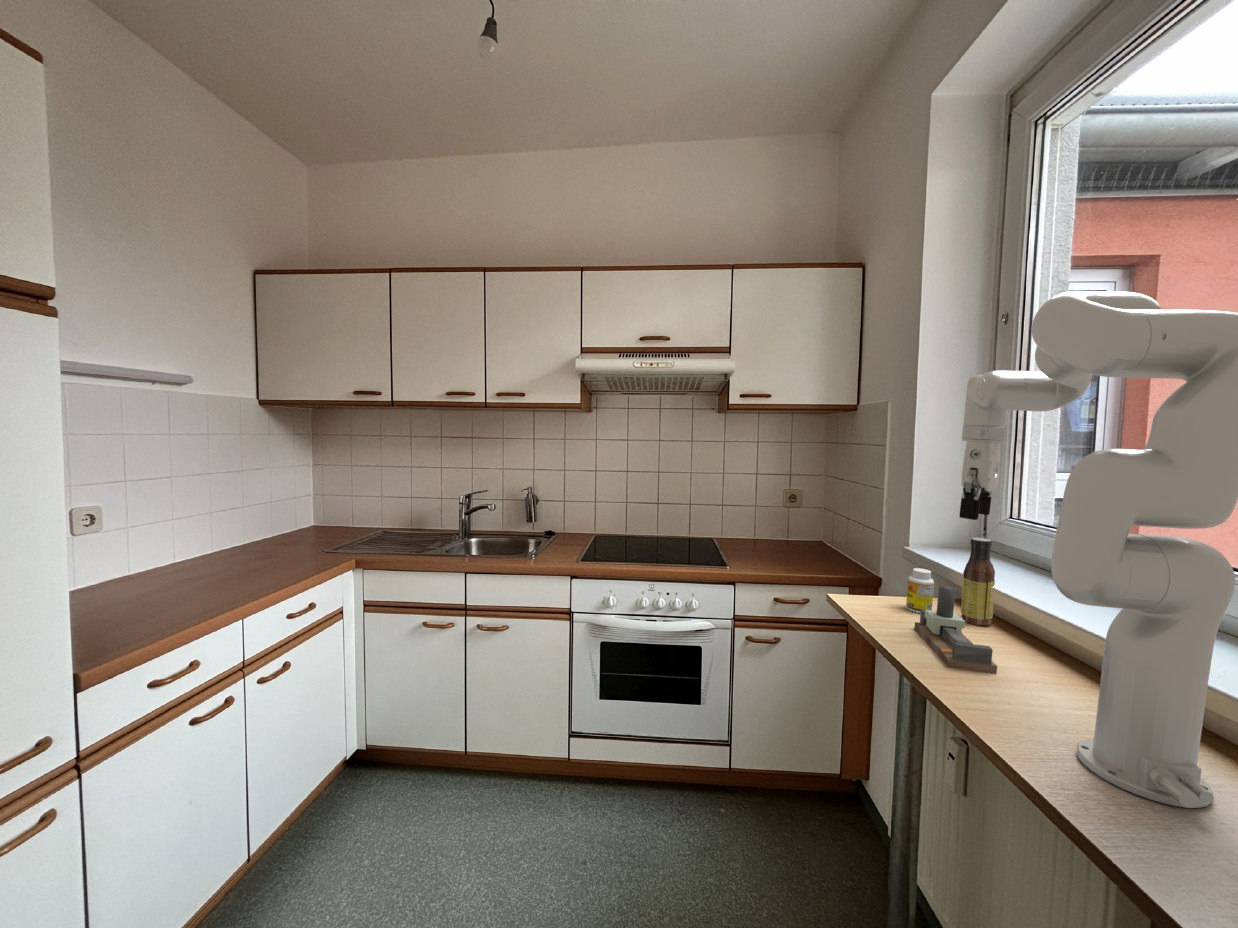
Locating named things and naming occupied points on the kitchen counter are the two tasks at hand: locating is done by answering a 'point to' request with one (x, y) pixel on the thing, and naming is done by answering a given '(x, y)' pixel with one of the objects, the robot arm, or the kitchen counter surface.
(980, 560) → the sauce bottle
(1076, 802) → the kitchen counter surface
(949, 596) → the carriage
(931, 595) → the supplement bottle
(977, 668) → the rail base
